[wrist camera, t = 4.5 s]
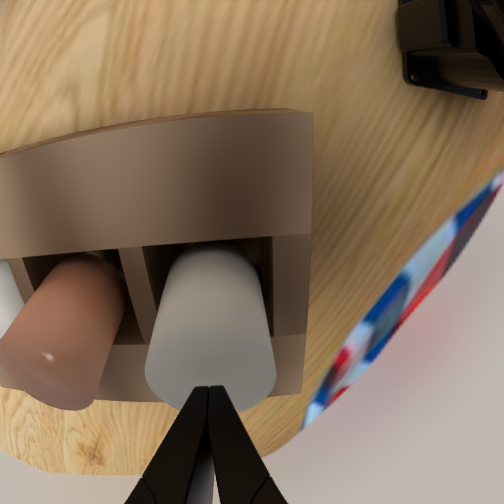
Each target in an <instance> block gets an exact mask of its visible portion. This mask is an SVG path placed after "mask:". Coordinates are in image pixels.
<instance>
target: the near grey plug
mask: <svg viewBox="0 0 504 504" xmlns="http://www.w3.org/2000/svg"><path fill="white" fill-rule="evenodd" d="M276 375H277V374H276V366H275V361H274V356H273V350H272V345H271V340H270V334H269V329H268V324H267V318H266V313H265V307H264V302H263V297H262V291H261V286H260V281H259V275H258V272H257V269H256V267H255V265H254V263H253V261H252V260H251V259H250V258H249V256H248V255H246V254H245V253H244V252H243V251H241V250H240V249H238V248H236V247H234V246H232V245H229V244H226V243H221V242H204V243H199V244H196V245H193V246H191V247H189V248H187V249H185V250H184V251H183V252H181V253H180V254H179V255H178V256H177V257H176V258H175V260H174V261H173V263H172V265H171V266H170V269H169V272H168V276H167V280H166V283H165V287H164V291H163V294H162V298H161V302H160V306H159V309H158V313H157V317H156V321H155V325H154V329H153V333H152V337H151V342H150V346H149V350H148V354H147V359H146V363H145V377H146V380H147V383H148V385H149V387H150V388H151V389H152V391H153V392H154V393H155V394H156V395H157V396H158V397H159V398H160V399H161V400H163V401H164V402H166V403H167V404H169V405H171V406H172V407H174V408H177V409H179V410H181V409H182V407H183V405H184V404H185V402H186V400H187V398H188V397H189V395H190V393H191V392H192V390H193V388H194V387H195V386H209V387H210V386H212V385H223V386H224V387H225V389H226V391H227V393H228V395H229V397H230V399H231V401H232V403H233V405H234V407H235V409H236V411H237V413H238V412H242V411H244V410H247V409H249V408H251V407H253V406H255V405H257V404H258V403H260V402H261V401H262V400H264V399H265V398H266V397H267V396H268V395H269V393H270V392H271V391H272V389H273V387H274V385H275V381H276Z"/></svg>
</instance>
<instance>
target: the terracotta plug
mask: <svg viewBox="0 0 504 504" xmlns="http://www.w3.org/2000/svg"><path fill="white" fill-rule="evenodd" d="M127 302H128V295H127V289H126V286H125V284H124V282H123V280H122V278H121V276H120V275H119V274H118V272H117V271H116V270H115V269H114V268H113V267H112V266H111V265H110V264H108V263H107V262H106V261H104V260H103V259H101V258H99V257H97V256H94V255H91V254H87V253H74V254H70V255H67V256H65V257H64V258H62V259H61V260H60V261H59V262H58V263H57V264H56V266H55V267H54V268H53V269H52V271H51V272H50V273H49V274H48V276H47V277H46V278H45V279H44V281H43V282H42V283H41V284H40V286H39V287H38V288H37V290H36V291H35V292H34V293H33V295H32V296H31V297H30V299H29V300H28V301H27V303H26V304H25V305H24V307H23V308H22V310H21V311H20V312H19V314H18V315H17V316H16V318H15V319H14V321H13V322H12V324H11V325H10V326H9V328H8V329H7V331H6V332H5V334H4V335H3V337H2V338H1V340H0V360H1V363H2V365H3V367H4V369H5V370H6V372H7V373H8V375H9V376H10V377H11V378H12V380H13V381H14V382H15V383H16V384H17V385H18V386H19V387H20V388H21V389H23V390H24V391H25V392H26V393H28V394H29V395H30V396H32V397H34V398H35V399H37V400H39V401H41V402H42V403H45V404H47V405H49V406H52V407H55V408H59V409H63V410H81V409H84V408H86V407H88V406H90V405H91V404H92V402H93V400H94V398H95V394H96V391H97V388H98V385H99V382H100V379H101V376H102V373H103V370H104V367H105V364H106V361H107V358H108V355H109V352H110V350H111V347H112V344H113V341H114V339H115V336H116V333H117V330H118V328H119V325H120V322H121V320H122V317H123V314H124V312H125V309H126V307H127Z"/></svg>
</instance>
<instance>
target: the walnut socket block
mask: <svg viewBox="0 0 504 504" xmlns="http://www.w3.org/2000/svg"><path fill="white" fill-rule="evenodd" d="M312 197H313V113H307V112H302V111H296V110H290V109H252V110H233V111H219V112H207V113H196V114H187V115H178V116H170V117H162V118H155V119H148V120H141V121H135V122H129V123H123V124H117V125H112V126H107V127H102V128H97V129H92V130H87V131H82V132H78V133H74V134H69V135H65V136H61V137H57V138H53V139H49V140H45V141H42V142H38V143H34V144H31V145H27V146H24V147H20V148H17V149H14V150H11V151H8V152H4V153H1V154H0V259H7V261H8V264H9V266H10V269H11V272H12V274H13V277H14V280H15V282H16V285H17V287H18V290H19V292H20V295H21V297H22V300H23V302H24V304H26V303H27V301H28V300H29V299H30V297H31V296H32V295H33V293H34V292H35V291H36V290H37V288H38V287H39V286H40V284H41V283H42V282H43V281H44V279H45V278H46V277H47V276H48V274H49V273H50V272H51V271H52V269H53V268H54V267H55V266H56V264H57V263H58V262H59V261H60V260H61V259H62V258H64V257H65V256H67V255H70V254H74V253H79V252H83V251H94V250H105V249H116V248H118V251H119V255H120V259H121V263H122V267H123V271H124V275H125V279H126V283H127V285H125V286H126V289H127V295H128V302H127V307H126V309H125V312H124V314H123V317H122V320H121V322H120V325H119V328H118V330H117V333H116V336H115V339H114V341H113V344H112V347H111V350H110V352H109V355H108V358H107V361H106V364H105V367H104V370H103V373H102V376H101V379H100V382H99V385H98V388H97V391H96V394H95V398H94V399H96V400H111V401H132V402H164V401H163V400H161V399H160V398H159V397H158V396H157V395H156V394H155V393H154V392H153V391H152V389H151V388H150V387H149V385H148V383H147V380H146V377H145V363H146V359H147V354H148V350H149V346H150V342H151V337H152V333H153V329H154V325H155V321H156V317H157V313H158V309H159V306H160V302H161V298H162V294H163V291H164V287H165V283H166V280H167V276H168V272H169V269H170V266H171V265H172V263H173V261H174V257H173V251H172V245H171V244H175V243H188V242H200V241H213V240H226V239H239V238H253V237H260V249H261V276H259V281H260V286H261V291H262V297H263V302H264V307H265V313H266V318H267V324H268V329H269V334H270V340H271V345H272V350H273V356H274V361H275V366H276V374H277V375H276V381H275V385H274V387H273V389H272V391H271V392H270V393H269V395H268V396H267V397H272V396H281V395H290V394H298V393H301V387H302V377H303V366H304V354H305V342H306V329H307V315H308V299H309V281H310V261H311V235H312ZM0 340H1V339H0ZM0 386H1V387H5V388H10V389H16V390H22V391H24V390H23V389H21V388H20V387H19V386H18V385H17V384H16V383H15V382H14V381H13V380H12V378H11V377H10V376H9V375H8V373H7V372H6V370H5V369H4V367H3V365H2V363H1V360H0Z"/></svg>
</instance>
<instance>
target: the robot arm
mask: <svg viewBox="0 0 504 504" xmlns="http://www.w3.org/2000/svg"><path fill="white" fill-rule="evenodd" d="M398 15H399V27H400V41H401V47H402V49H403V66H404V79H405V81H406V82H407V83H408V84H409V85H413V86H419V87H425V88H430V89H435V90H441V91H445V92H450V93H455V94H459V95H463V96H468V97H472V98H476V99H480V100H485V99H486V98H487V94H488V90H495V91H502V92H504V0H399V8H398ZM412 73H413V74H414V76H415V79H414V81H413V80H412V78H411V74H412ZM480 90H481V94H480ZM214 472H215V475H216V481H217V487H218V492H219V498H220V503H221V504H288V503H287V501H286V500H285V499H284V497H283V495H282V494H281V492H280V491H279V489H278V487H277V486H276V484H275V482H274V480H273V479H272V477H270V474H269V472H268V470H267V468H266V466H265V465H264V463H263V461H262V459H261V457H260V455H259V454H258V452H257V450H256V448H255V446H254V444H253V442H252V440H251V439H250V437H249V435H248V433H247V431H246V429H245V427H244V425H243V423H242V421H241V419H240V417H239V415H238V413H237V411H236V409H235V407H234V405H233V403H232V401H231V399H230V397H229V395H228V393H227V391H226V389H225V387H224V386H223V385H212V386H210V387H209V386H195V387H194V388H193V390H192V392H191V393H190V395H189V397H188V398H187V400H186V402H185V404H184V405H183V407H182V409H181V410H180V412H179V414H178V416H177V417H176V419H175V421H174V422H173V424H172V426H171V428H170V429H169V431H168V433H167V434H166V436H165V438H164V439H163V441H162V443H161V445H160V446H159V448H158V450H157V451H156V453H155V455H154V456H153V458H152V460H151V461H150V463H149V465H148V466H147V468H146V470H145V471H144V473H143V475H142V477H143V478H140V480H139V481H138V483H137V485H136V486H135V488H134V489H133V491H132V492H131V494H130V496H129V497H128V499H127V500H126V502H125V503H124V504H212V499H213V486H214Z"/></svg>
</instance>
